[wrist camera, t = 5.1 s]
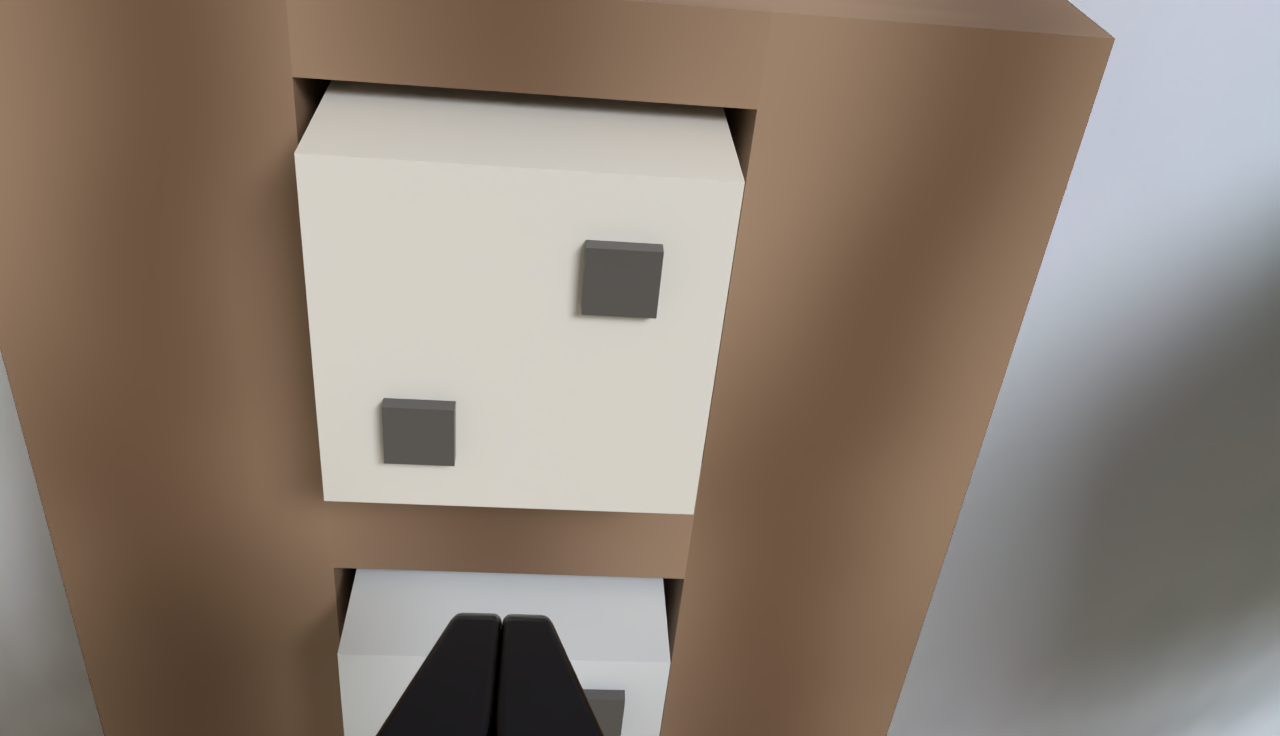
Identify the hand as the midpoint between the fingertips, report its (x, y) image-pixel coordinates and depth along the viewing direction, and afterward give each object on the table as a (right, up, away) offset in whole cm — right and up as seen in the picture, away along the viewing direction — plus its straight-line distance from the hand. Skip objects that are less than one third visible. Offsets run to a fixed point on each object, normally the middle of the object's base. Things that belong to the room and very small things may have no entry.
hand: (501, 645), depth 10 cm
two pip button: (0, +4, +6) cm, 8 cm away
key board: (-1, -1, +12) cm, 12 cm away
